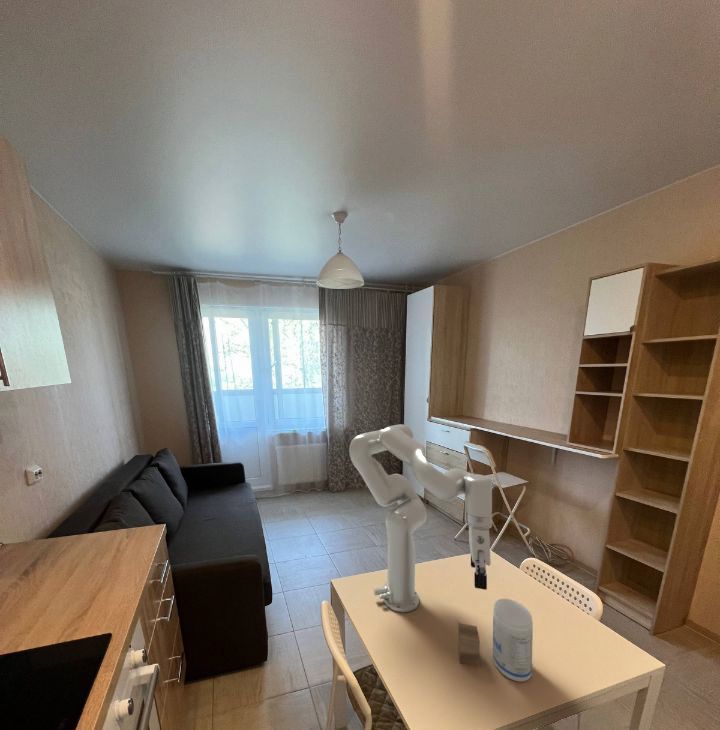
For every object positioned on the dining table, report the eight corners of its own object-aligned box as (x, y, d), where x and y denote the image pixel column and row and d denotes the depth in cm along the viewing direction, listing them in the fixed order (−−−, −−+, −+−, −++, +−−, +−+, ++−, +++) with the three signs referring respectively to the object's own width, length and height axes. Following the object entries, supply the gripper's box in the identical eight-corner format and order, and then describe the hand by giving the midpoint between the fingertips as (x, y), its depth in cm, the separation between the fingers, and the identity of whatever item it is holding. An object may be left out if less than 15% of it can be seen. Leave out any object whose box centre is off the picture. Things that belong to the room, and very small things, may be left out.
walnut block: (479, 668, 82) (479, 641, 82) (459, 663, 83) (460, 637, 83) (476, 651, 86) (476, 626, 87) (458, 648, 88) (458, 622, 88)
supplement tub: (486, 651, 86) (486, 598, 87) (517, 649, 87) (517, 596, 88) (505, 686, 77) (506, 625, 77) (541, 683, 78) (540, 623, 78)
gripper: (497, 534, 82) (497, 600, 81) (487, 507, 98) (487, 562, 98) (467, 530, 84) (467, 594, 83) (462, 505, 100) (462, 558, 100)
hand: (478, 577), depth 90 cm, fingers open, 9 cm apart
